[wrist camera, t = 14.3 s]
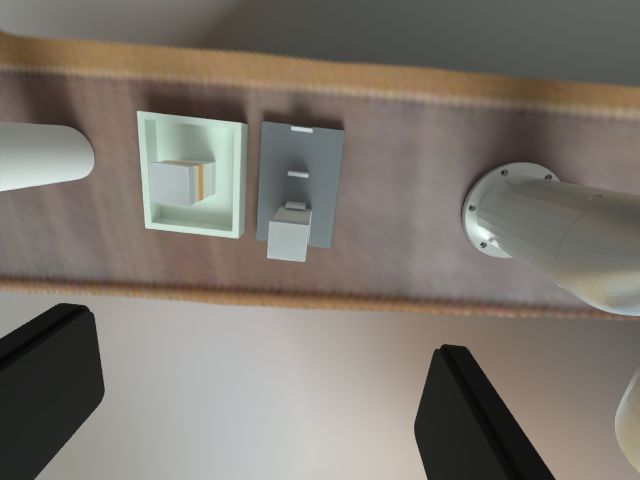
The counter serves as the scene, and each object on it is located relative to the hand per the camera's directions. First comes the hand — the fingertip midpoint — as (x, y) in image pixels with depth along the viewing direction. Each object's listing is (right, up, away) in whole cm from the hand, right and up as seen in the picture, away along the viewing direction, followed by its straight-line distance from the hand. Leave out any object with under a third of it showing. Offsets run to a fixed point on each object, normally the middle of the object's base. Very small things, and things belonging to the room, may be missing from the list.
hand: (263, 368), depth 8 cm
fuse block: (-1, +11, +32) cm, 33 cm away
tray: (-14, +12, +31) cm, 37 cm away
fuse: (-2, +6, +32) cm, 32 cm away
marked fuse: (-14, +12, +31) cm, 36 cm away
